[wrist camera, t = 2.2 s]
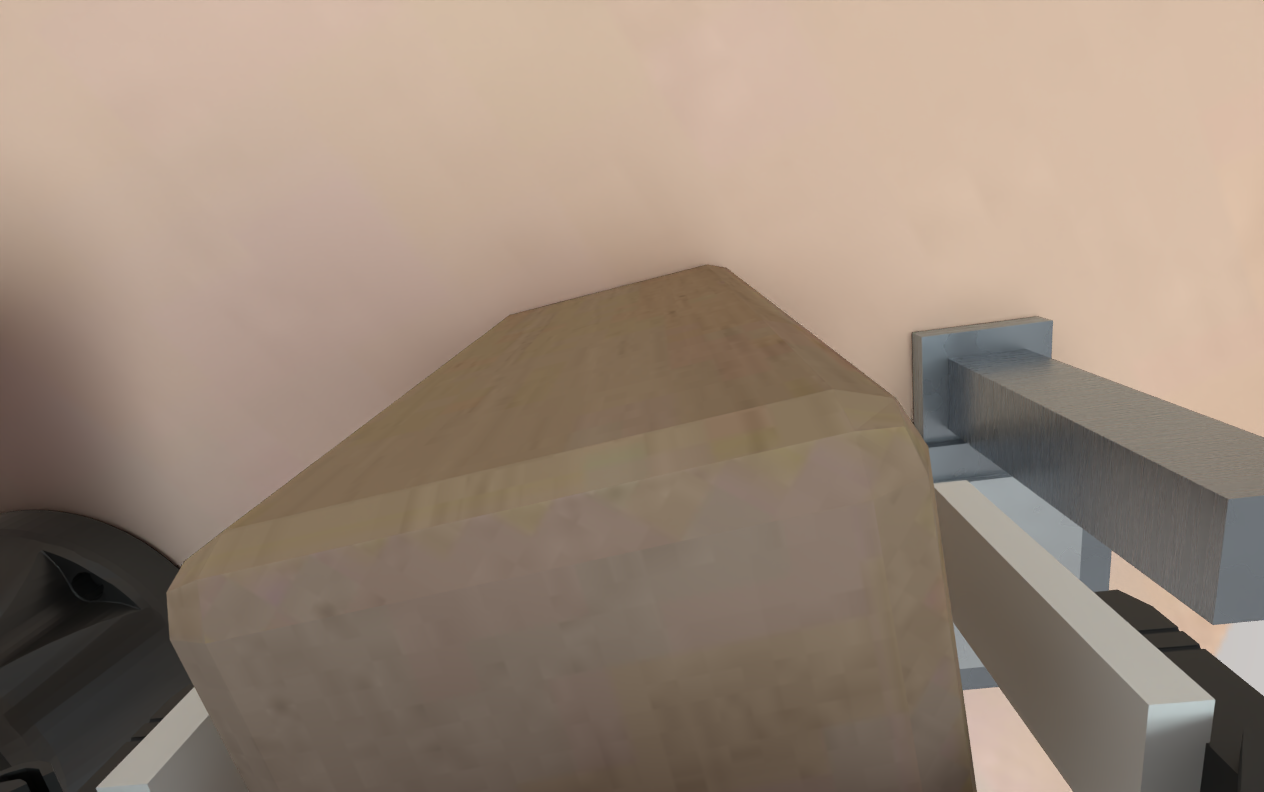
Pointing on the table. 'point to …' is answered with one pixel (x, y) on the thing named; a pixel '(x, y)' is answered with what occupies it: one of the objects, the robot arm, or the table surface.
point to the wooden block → (596, 573)
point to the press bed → (1093, 469)
